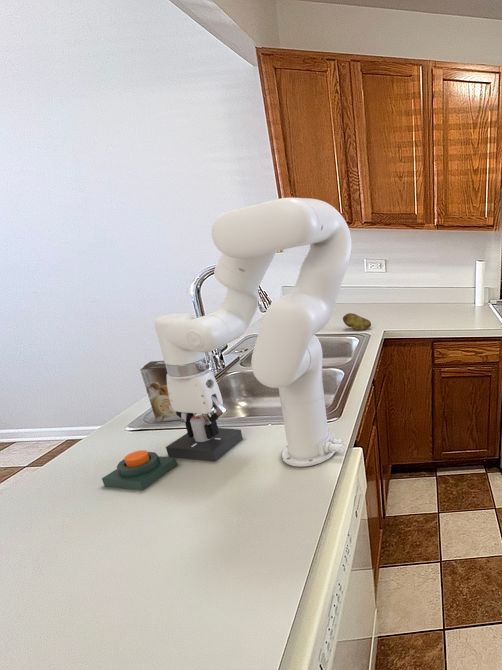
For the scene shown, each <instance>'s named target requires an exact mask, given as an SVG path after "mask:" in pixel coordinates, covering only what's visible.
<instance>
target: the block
mask: <svg viewBox="0 0 502 670" xmlns="http://www.w3.org/2000/svg"><path fill="white" fill-rule="evenodd" d="M147 452H148V455H149V458H150V460H149V461H148V462H146V463H144V464H142V465H139V466H135V467H127V466H126V463H125V460H124V459H122V460H120V461H119V462H118V464H117V465H116V469H114V470H113V471H111V472H109V473H108V474H107V475H105V476H102V478H101V481H102V483H103V486H104V487H105V488H113V489H123V490H133V491H145V490H146V489H148V487H151V486H152V485H153V484H154V483H155V482H157V481H159V479H161V478H162V477H164V476H165V475H167V474H168V473H169V472H171V471H172V470H173V469H175V468H176V467H177V466H178V462H177V460H176V459H177V458H173V457H168V456H162V455H161V456H160V455H159V454H157V453H156V452H155V451H147Z"/></svg>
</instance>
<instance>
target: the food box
mask: <svg viewBox="0 0 502 670" xmlns="http://www.w3.org/2000/svg"><path fill="white" fill-rule="evenodd" d="M139 371H140V374H141V377H142V380H143V383H144V387H145V390H146V393H147V396H148V399H149V402H150V406H151V409H152V413H153V415H154V419H155V422H156V423H158V422H159V423H160V422H161V423H162V422H168V421H169V422H171V421H180V420H181V418H180V417H179V416H178V415H177V414H176V413H174V412H172V411H171V410H169V406H170V404H171V403H170V399H169V395H168V389H167V374H168V373H167V369H166V365H165V361H164V360H155V361H152V360H151V361H149V362H147V363H146V364H145V365H144V366H143V367H142V368H140V369H139ZM195 416H197V413H195ZM181 421H182V420H181Z"/></svg>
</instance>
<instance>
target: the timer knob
mask: <svg viewBox="0 0 502 670" xmlns="http://www.w3.org/2000/svg"><path fill="white" fill-rule="evenodd" d="M209 417H211V415H209ZM190 423H191V427H192V430H193V434H194V438H195V441H197V442H204V441H208V440H210V439H207V436H206V432H205V428H204V425H205V424H206V423H205V421H204V418H203V416H202V414H198V415H195V416H192V417H191V419H190ZM211 439H212V438H211Z"/></svg>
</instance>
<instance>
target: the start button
mask: <svg viewBox="0 0 502 670" xmlns="http://www.w3.org/2000/svg"><path fill="white" fill-rule="evenodd" d="M148 452H149V451H147V450H143V449H142V450H136V451H132V452H130V453H128V454H127V455H126V456H124V458H123V460H125V463H126V466H127V467H135V466H139V465H142V464H144V463H146V462H148V461H149V460H150V458H149V455H148Z"/></svg>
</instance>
